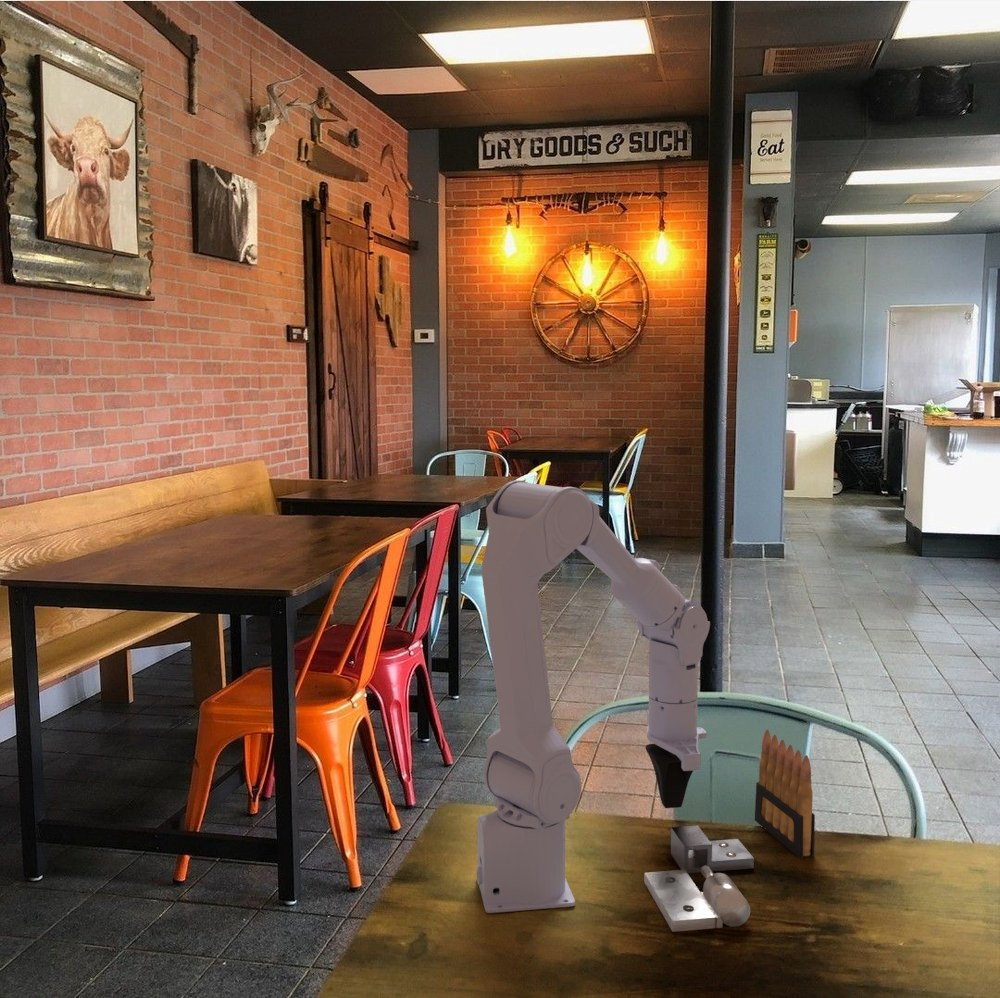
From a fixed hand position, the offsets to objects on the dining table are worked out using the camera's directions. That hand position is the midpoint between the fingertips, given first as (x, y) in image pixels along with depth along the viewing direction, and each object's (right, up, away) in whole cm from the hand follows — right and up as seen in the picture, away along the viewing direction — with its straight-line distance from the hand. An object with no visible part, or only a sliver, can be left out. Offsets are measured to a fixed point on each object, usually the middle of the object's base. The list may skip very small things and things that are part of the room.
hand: (671, 805), depth 123 cm
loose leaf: (+3, -4, -7) cm, 9 cm away
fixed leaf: (0, -6, -16) cm, 17 cm away
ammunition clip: (+13, -4, -1) cm, 14 cm away
